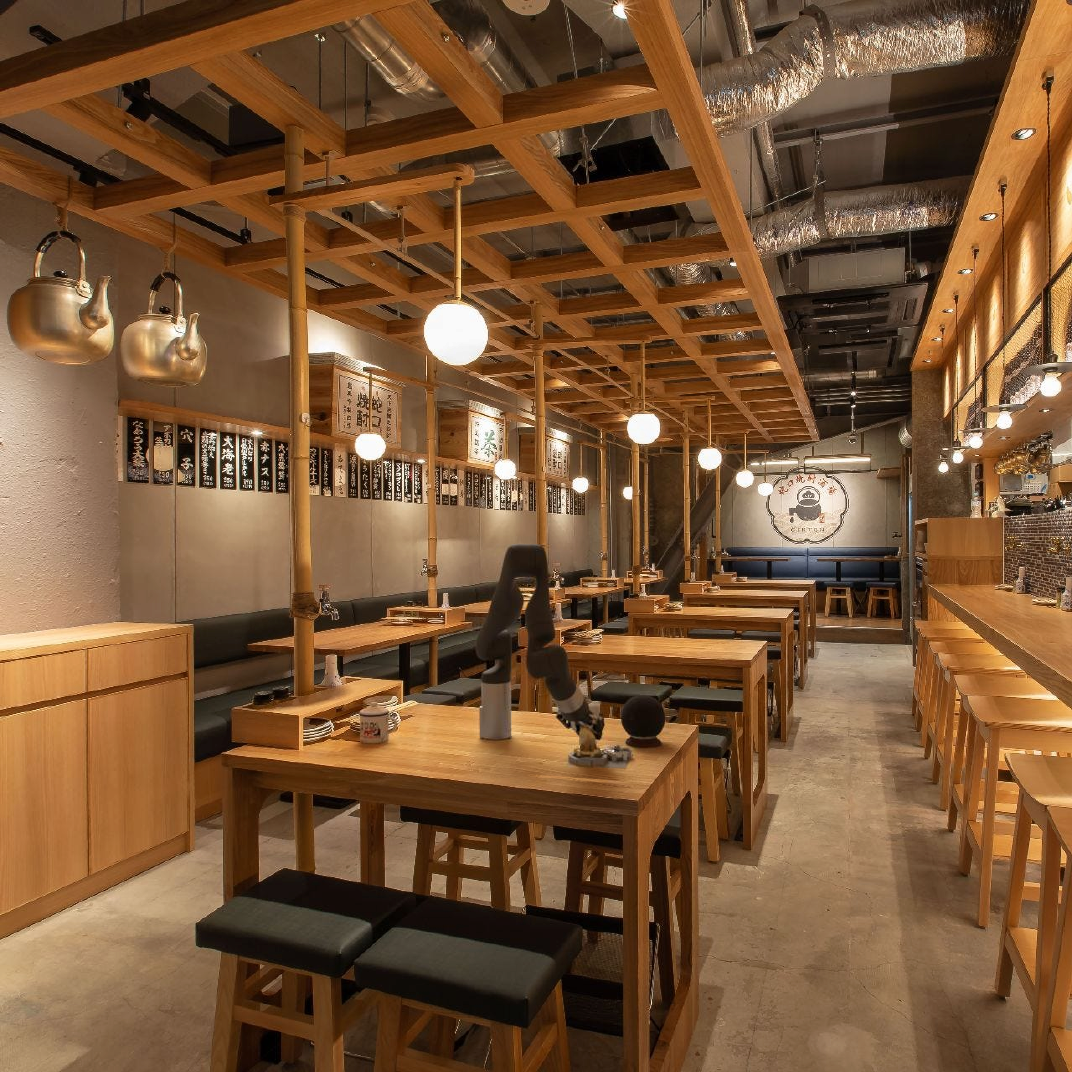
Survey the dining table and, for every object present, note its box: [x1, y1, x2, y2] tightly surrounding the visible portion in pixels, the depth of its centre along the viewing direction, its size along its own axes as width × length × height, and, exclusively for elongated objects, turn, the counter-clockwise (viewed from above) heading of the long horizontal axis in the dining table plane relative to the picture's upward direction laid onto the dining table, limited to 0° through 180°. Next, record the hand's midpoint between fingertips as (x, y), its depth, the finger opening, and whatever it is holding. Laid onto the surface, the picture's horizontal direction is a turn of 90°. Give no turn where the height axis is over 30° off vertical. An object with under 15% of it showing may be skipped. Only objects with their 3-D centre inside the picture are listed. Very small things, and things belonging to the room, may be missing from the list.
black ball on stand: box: [620, 694, 667, 749], centre depth 227 cm, size 13×13×15 cm
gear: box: [601, 744, 633, 761], centre depth 212 cm, size 8×8×3 cm
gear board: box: [565, 751, 634, 770], centre depth 210 cm, size 16×14×2 cm
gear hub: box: [573, 725, 603, 757], centre depth 209 cm, size 8×7×10 cm
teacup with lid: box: [358, 701, 398, 744], centre depth 237 cm, size 12×9×12 cm
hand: (590, 736), depth 211 cm, fingers closed on gear hub, 4 cm apart
